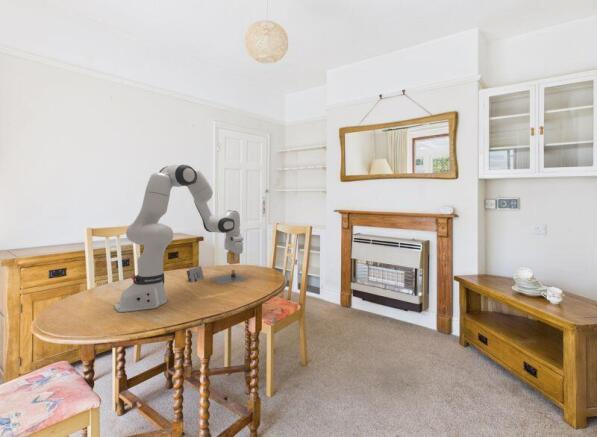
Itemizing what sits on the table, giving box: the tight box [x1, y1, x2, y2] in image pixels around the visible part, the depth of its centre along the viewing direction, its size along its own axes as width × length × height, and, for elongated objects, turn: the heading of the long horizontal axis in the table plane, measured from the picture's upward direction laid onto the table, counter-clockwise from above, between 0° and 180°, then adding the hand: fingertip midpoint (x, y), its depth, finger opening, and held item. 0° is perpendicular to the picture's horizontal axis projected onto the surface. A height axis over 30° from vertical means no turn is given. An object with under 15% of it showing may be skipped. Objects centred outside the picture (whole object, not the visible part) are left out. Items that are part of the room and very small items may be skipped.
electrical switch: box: [186, 265, 205, 283], centre depth 189 cm, size 9×5×9 cm, turn 152°
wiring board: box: [210, 269, 249, 285], centre depth 192 cm, size 18×16×6 cm
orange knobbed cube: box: [226, 251, 241, 265], centre depth 196 cm, size 6×6×8 cm
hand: (233, 258), depth 196 cm, fingers closed on orange knobbed cube, 6 cm apart
